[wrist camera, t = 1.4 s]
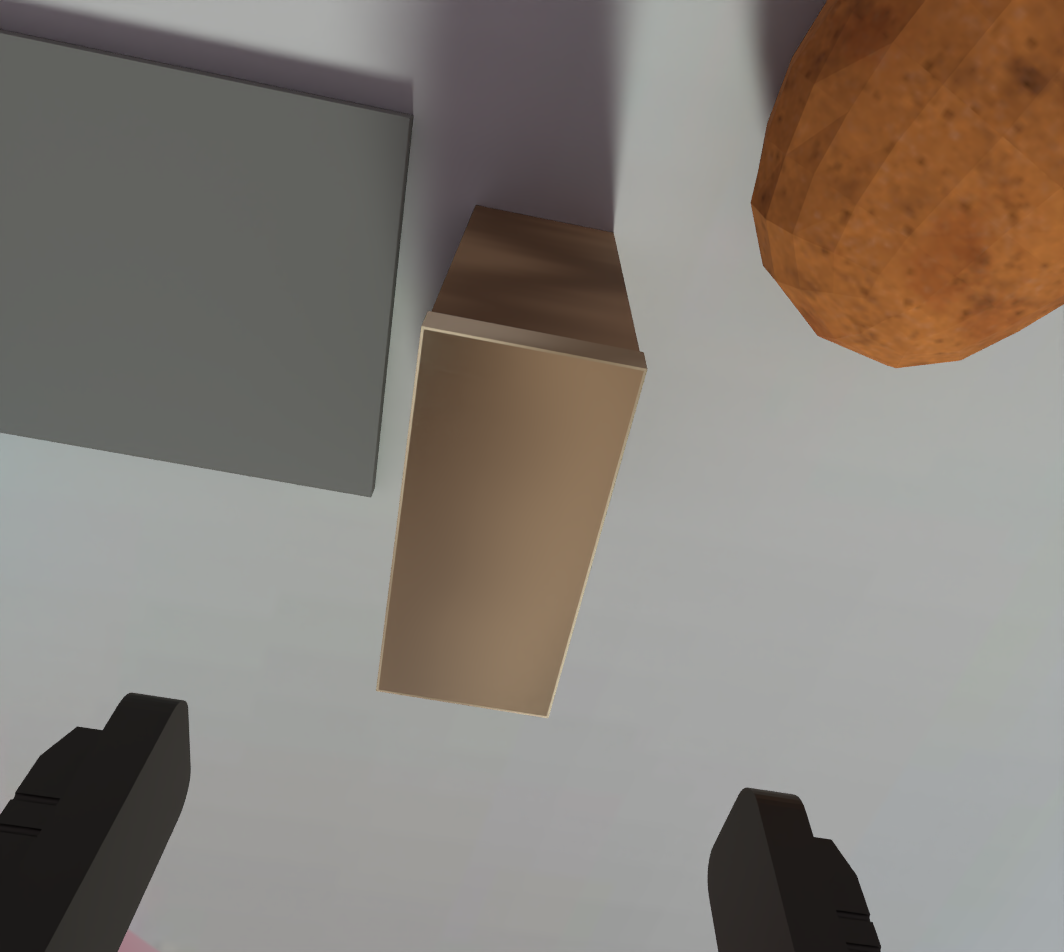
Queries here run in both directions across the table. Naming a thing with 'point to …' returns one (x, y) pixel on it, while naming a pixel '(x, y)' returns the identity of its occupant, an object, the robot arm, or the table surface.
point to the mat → (195, 265)
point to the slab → (509, 462)
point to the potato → (918, 175)
